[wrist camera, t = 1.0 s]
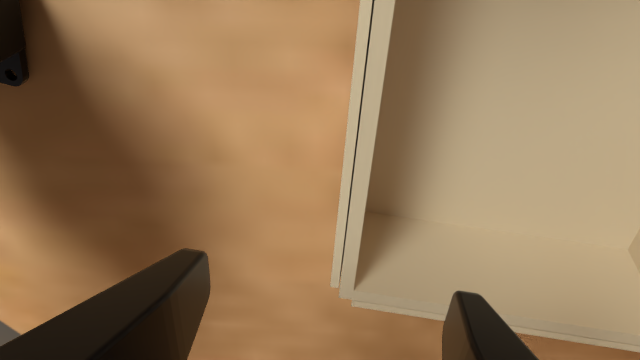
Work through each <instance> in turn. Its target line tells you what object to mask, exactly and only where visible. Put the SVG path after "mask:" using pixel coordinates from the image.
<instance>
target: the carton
mask: <svg viewBox="0 0 640 360" xmlns="http://www.w3.org/2000/svg"><path fill="white" fill-rule="evenodd" d="M342 264H343V266H342ZM341 270H342V274H341ZM340 276H341V283H340V291H339V298H344V299H351V300H352V304H351V306H354V307H360V308H366V309H372V310H379V311H385V312H391V313H397V314H404V315H410V316H416V317H422V318H429V319H435V320H441V321H445V318H446V315H447V312H448V309H449V305H450V302H451V299H452V296H453V294H454V292H456V291H458V290H460V291H466V292H473V293H478V294H480V295H481V296H482V297H483V298H484V299H485V300H486V301H487V302H488V303H489V304H490V305H491V307H492V308H493V309H494V310H495V311H496V312H497V313H498V314H499V316H500V317H501V318H502V319H503V320H504V321H505V322H506V323H507V324H508V326H509V327H510V328H511V329H512V330H513V331H514V332H516V333H522V334H528V335H535V336H541V337H547V338H553V339H559V340H566V341H572V342H578V343H584V344H591V345H597V346H603V347H609V348H616V349H622V350H628V351H634V352H640V0H360V8H359V17H358V27H357V36H356V46H355V55H354V65H353V74H352V84H351V94H350V103H349V113H348V122H347V132H346V141H345V151H344V160H343V170H342V179H341V189H340V199H339V208H338V218H337V227H336V237H335V246H334V256H333V265H332V275H331V284H330V287H335V288H339V282H340Z"/></svg>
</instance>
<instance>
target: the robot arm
mask: <svg viewBox="0 0 640 360" xmlns="http://www.w3.org/2000/svg"><path fill="white" fill-rule="evenodd" d="M11 70H13V71H14V72H15V73H16V75H17V76H16V75H14V74H13V73H12V71H11ZM28 78H29V72H28V65H27V58H26V52H25V39H24V32H23V25H22V19H21V12H20V5H19V0H0V83H3V84H7V85H11V86H19V85H21V84H23V83H24V82H26V81H27V80H28ZM209 295H210V274H209V264H208V256H207V254H206V253H205V252H204V251H200V250H193V249H187V248H185V249H181V250H179V251H177V252H175V253H173V254H172V255H170V256H168V257H166V258H164V259H162V260H160V261H159V262H157V263H155V264H153V265H151V266H149V267H147V268H146V269H144V270H142V271H140V272H138V273H136V274H134V275H132V276H131V277H129V278H127V279H125V280H123V281H121V282H119V283H118V284H116V285H114V286H112V287H110V288H108V289H106V290H105V291H103V292H101V293H99V294H97V295H95V296H93V297H91V298H90V299H88V300H86V301H84V302H82V303H80V304H78V305H77V306H75V307H73V308H71V309H69V310H67V311H65V312H64V313H62V314H60V315H58V316H56V317H54V318H52V319H50V320H49V321H47V322H45V323H43V324H41V325H39V326H37V327H36V328H34V329H32V330H30V331H28V332H26V333H24V334H23V335H21V336H19V337H17V338H15V339H13V340H12V341H9V342H8V343H6V344H4V345H2V346H0V360H187V358H188V355H189V353H190V350H191V347H192V344H193V341H194V339H195V336H196V333H197V330H198V327H199V325H200V322H201V319H202V316H203V313H204V311H205V308H206V305H207V302H208V299H209ZM442 360H539V359H538V358H537V357H536V356H535V355H534V354H533V353H532V351H531V350H530V349H529V348H528V347H527V346H526V345H525V344H524V342H523V341H522V340H521V339H520V338H519V337H518V336H517V335H516V333H515V332H514V331H513V330H512V329H511V328H510V327H509V326H508V324H507V323H506V322H505V321H504V320H503V319H502V318H501V317H500V316H499V314H498V313H497V312H496V311H495V310H494V309H493V308H492V307H491V305H490V304H489V303H488V302H487V301H486V300H485V299H484V298H483V297H482V296H481V295H480V294H478V293H473V292H466V291H460V290H458V291H456V292H454V294H453V296H452V299H451V302H450V305H449V309H448V312H447V315H446V318H445V322H444V326H443V334H442Z"/></svg>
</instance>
